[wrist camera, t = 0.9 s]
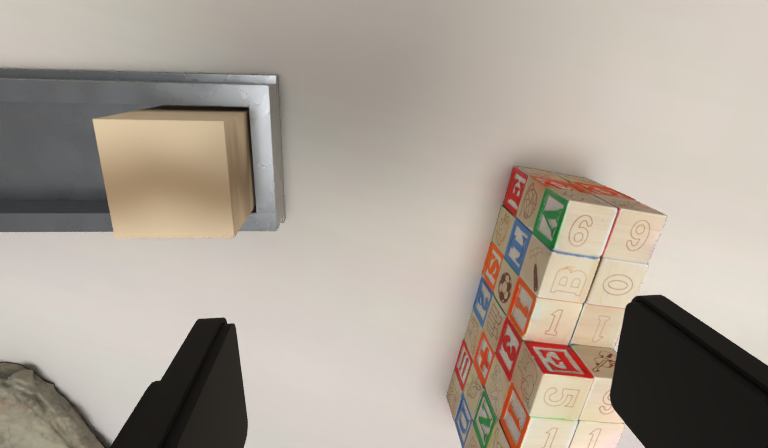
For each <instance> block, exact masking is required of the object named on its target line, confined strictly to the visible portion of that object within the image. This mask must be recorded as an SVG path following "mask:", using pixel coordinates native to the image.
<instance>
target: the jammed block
mask: <svg viewBox="0 0 768 448" xmlns="http://www.w3.org/2000/svg"><path fill="white" fill-rule="evenodd" d="M92 120H93V125H94V130H95V136H96V141H97V146H98V152H99V157H100V162H101V168H102V173H103V178H104V184H105V189H106V194H107V200H108V205H109V210H110V216H111V221H112V226H113V232H114V237H115V238H234V237H235V236H236V234H237V233H238V231H239V230H240V228H241V227H242V225H243V224H244V222H245V221H246V219H247V218H248V216H249V215H250V213H251V212H252V210H253V209H254V207H255V206H256V197H255V183H254V170H253V156H252V142H251V129H250V115H249V107H200V106H156V107H151V108H146V109H141V110H136V111H131V112H126V113H121V114H116V115H111V116H106V117H101V118H96V119H92Z"/></svg>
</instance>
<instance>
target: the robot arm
mask: <svg viewBox="0 0 768 448" xmlns="http://www.w3.org/2000/svg"><path fill="white" fill-rule="evenodd" d="M610 401H611V404H612V407H613V409H614V410H615V411H616V413H617V414H618V415H619V416H620V417H621V419H622V420H623V421H624V422H625V424H626V425H627V426H628V427H629V428H630V430H631V431H632V432H633V433H634V434H635V436H636V437H637V438H638V439H639V440H640V442H641V443H642V444H643V445H644V446H645V448H768V366H767V365H766V364H764V363H763V362H761V361H760V360H758V359H757V358H755V357H754V356H752V355H751V354H749V353H748V352H746V351H745V350H743V349H742V348H740V347H739V346H737V345H736V344H735V343H733V342H732V341H730V340H729V339H727V338H726V337H724V336H723V335H721V334H720V333H718V332H717V331H715V330H714V329H712V328H711V327H709V326H708V325H706V324H705V323H703V322H702V321H700V320H699V319H697V318H696V317H694V316H693V315H691V314H690V313H688V312H687V311H685V310H684V309H682V308H681V307H679V306H678V305H676V304H675V303H673V302H672V301H670V300H669V299H667V298H666V297H664V296H662V295H647V296H636V297H634V298H633V299H632V301H631V302H630V303H628V304H627V305H626V308H625V312H624V318H623V323H622V329H621V334H620V340H619V345H618V351H617V356H616V362H615V367H614V373H613V378H612V384H611V389H610ZM247 429H248V420H247V412H246V404H245V396H244V388H243V380H242V373H241V365H240V357H239V349H238V341H237V333H236V327H235V325H234V324H227V321H226V319H225V318H207V319H198V320H197V321H196V323H195V324H194V326H193V328H192V329H191V331H190V333H189V334H188V336H187V338H186V339H185V341H184V343H183V344H182V346H181V348H180V349H179V351H178V352H177V354H176V356H175V357H174V359H173V361H172V362H171V364H170V366H169V367H168V369H167V371H166V372H165V374H164V376H163V377H162V379H161V381H155V382H153V383H151V384H150V386H149V387H148V388H147V390H146V391H145V393H144V394H143V396H142V398H141V399H140V401H139V402H138V404H137V406H136V407H135V409H134V410H133V412H132V414H131V415H130V417H129V418H128V420H127V421H126V423H125V425H124V426H123V428H122V429H121V431H120V433H119V434H118V436H117V437H116V439H115V441H114V442H113V444H112V445H111V447H110V448H244V445H245V441H246V437H247Z"/></svg>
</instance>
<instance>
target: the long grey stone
mask: <svg viewBox="0 0 768 448" xmlns="http://www.w3.org/2000/svg"><path fill="white" fill-rule="evenodd" d="M0 448H104V446H103V445H102V444H101V443H100V442H99V441H98V440H97V438H96V436H95V434H94V433H93V432H92V431H91V429H90V428H89V427H88V425H87V424H86V423H85V422H84V420H83V419H82V418H81V417H80V415H79V414H78V413H77V411H76V410H75V409H74V407H73V405H71V404H70V403H69V402H68V401H67V400H66V399H65V398H64V397H63V396H61V395H60V394H59V393H57V391H56V390H55V388H54V385H53V384H50V383H47V382H45V381H44V380H42V379H41V378H40V377H39V376H37V375H36V374H35V373H33V370H27V369H26V368H25V367H23V366H21V365H17V364H15V363H11V364H10V363H6V362H4V363H0Z"/></svg>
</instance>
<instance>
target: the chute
mask: <svg viewBox="0 0 768 448" xmlns="http://www.w3.org/2000/svg"><path fill="white" fill-rule="evenodd" d="M156 106H200V107H249V115H250V129H251V142H252V156H253V170H254V183H255V197H256V206H255V207H254V209H253V210H252V212H251V213H250V215H249V216H248V218H247V219H246V221H245V222H244V224H243V225H242V227H241V228H240V230H239V231H277V229H278V227H279V225H280V223H284V221H285V203H284V183H283V163H282V144H281V124H280V104H279V85H278V75H239V74H199V73H160V72H120V71H80V70H41V69H1V68H0V232H113V226H112V221H111V216H110V210H109V205H108V200H107V194H106V189H105V184H104V178H103V173H102V168H101V162H100V157H99V152H98V146H97V141H96V136H95V130H94V125H93V120H92V119H96V118H101V117H106V116H111V115H116V114H121V113H126V112H131V111H136V110H141V109H146V108H151V107H156Z"/></svg>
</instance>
